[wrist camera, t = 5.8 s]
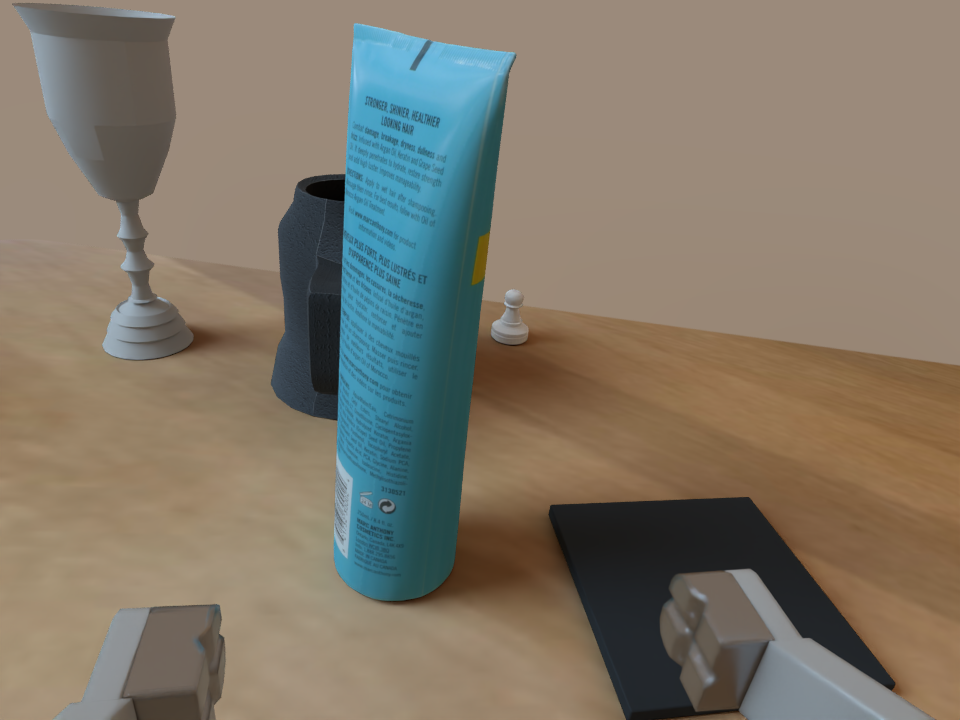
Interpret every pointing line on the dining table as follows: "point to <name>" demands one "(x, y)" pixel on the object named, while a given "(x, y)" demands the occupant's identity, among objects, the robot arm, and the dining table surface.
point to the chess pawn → (511, 321)
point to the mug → (311, 297)
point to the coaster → (648, 573)
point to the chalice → (115, 138)
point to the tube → (411, 301)
